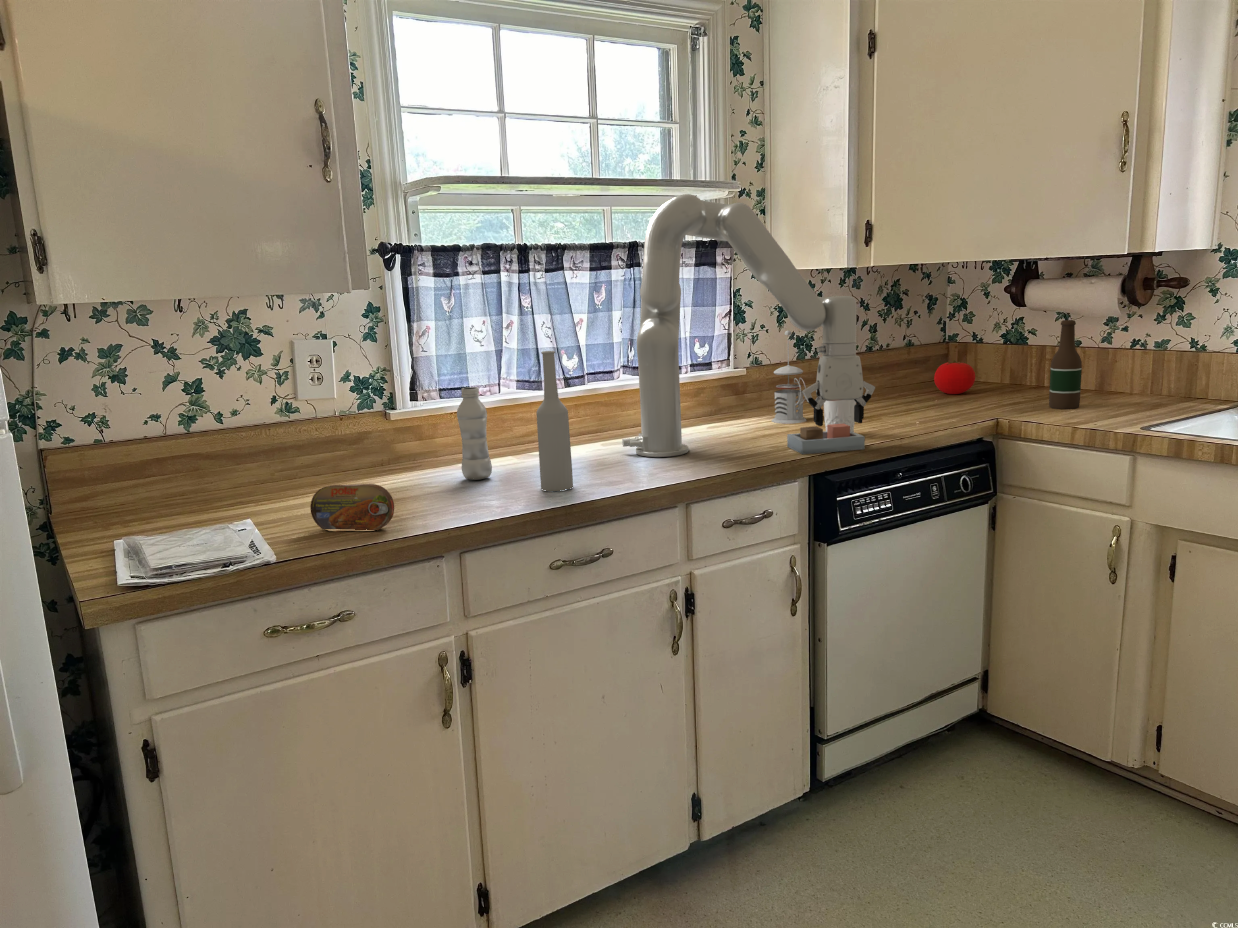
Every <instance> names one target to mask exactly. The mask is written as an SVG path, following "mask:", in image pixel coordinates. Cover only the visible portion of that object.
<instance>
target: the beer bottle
mask: <svg viewBox="0 0 1238 928" xmlns="http://www.w3.org/2000/svg"><path fill="white" fill-rule="evenodd" d="M1075 325H1077V323H1076V320H1074V319H1063V320H1061V322H1060V326H1061V331H1060V337H1059V338H1060V339H1059V345H1058V349H1057V351H1056V352H1055V354H1053V357H1052V358H1051V359H1052V360H1051V361H1050V367H1049V368H1050V369H1049V370H1050V371H1049V372H1050V373H1049V391H1048V393H1049V396H1048V405H1049V408H1051V409H1052V410H1053V409H1056V410H1075V409H1079V407H1080V402H1081V392H1082V391H1081V388H1082V387H1081V386H1082V372H1083V371H1082V369H1083V368H1082V367H1083V365H1082V362H1083V361H1082V359H1081V356H1080V354H1079V353H1078V351H1077V349H1076V338H1075V337H1076V334H1075V331H1076V330H1075V329H1076V328H1075V327H1076V326H1075Z"/></svg>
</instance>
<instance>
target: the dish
mask: <svg viewBox="0 0 1238 928" xmlns="http://www.w3.org/2000/svg"><path fill="white" fill-rule="evenodd" d="M786 436H787V440H786V441H787V442H786V444H787V447H788V448H789V449H792V450H793V451H794V452H797V453H798V454H799V453H800V454H801V455H809V454H810V455H811V454H823V453H824V454H825V453H834V452H835V453H836V452H844V451H845V452H846V451H859V450H865V443H866V442H865V440H866V439H865V437H866V436H864V435H862V434H859V433H856V432H852V431H850V437H838V438H827V431H826V430H823V439H813V440H804V439H802V438H800V433H788V434H787V435H786Z"/></svg>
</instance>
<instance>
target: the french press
mask: <svg viewBox="0 0 1238 928" xmlns="http://www.w3.org/2000/svg"><path fill="white" fill-rule="evenodd" d="M784 335H785V336H792V330H786V331H784ZM789 348H790V347H789V340H787V365H785V366H781V367H779V368H777V369H775V370H774V371H773V374H774V375H777V376H779V375H780V376H787V384H785V383H784V384H778V385H776V386H775V388H776V389H778V390H776V391H774V400H775V401H774V418H772V419H771V423H776V424H787V425H788V424H801V423H805V422H807V419H806V418H805V417H804V402H805V401H806V398H805V397H804V394H803V390H802V385H801V384H800V381H802V382H803V386H804V389H806V388H807V386H806V383H805V381H804V379H803V378H802V377H799V378H796V377H795V378H794V379H793V384H790V376H792V375H801V374H803V372H804V370H802V369H801V368H800V367H796V366H792V365H790V362H789V361H790V359H789V355H790V351H789V350H790V349H789Z"/></svg>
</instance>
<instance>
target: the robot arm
mask: <svg viewBox="0 0 1238 928" xmlns="http://www.w3.org/2000/svg"><path fill="white" fill-rule="evenodd" d="M686 236H691V237H696V238H702V239H708V240H715V241H721V242H727V243H729V245H730V246H731V248H732V249H733V250H734V251H735V253H736V254H737V255H738V258H740V260H741V261H742V262H743V263H744V264H745V266H746V268H748V270H749V271H750V273H751V274H752V276H753V277H754V278H755V279H756V280H757V281H758V282H759V283H760V284H761V285H762V286H764V287H765V289H767V290H768V291H769V293H771V295H772V296H773V297H774V298H775V300H776V301H777V302H778V303H779V305H780V306H781V308H783V310H784V311H785V313H786V315H787V318H788V320H789V322H790V323H791V324H792V325H793V326H794V327H795V328H797V329H799V330H801V331H803V332H812V331H816V330H817V329H819V328H820V327H822V343H821V345H820V346H817V347H816V352H817V353H819V354H821V355H822V356H820V357H819V359H818V364H817V369H816V370H817V371H816V381H815V383H813V384H811V385H809V386H807V387H806V389H805V388H804V389H803V390H802V391H803V397H804V398H805V401H806V402H807V403H808V404H809V405H810V407H812V408H813V422H814V424H815V425H816V426H817V427H822V426H823V425H824V408H822V407H823V406H824V403H825V401H839V400H854V401H855V402H856V405H855V406H854V421H855V423H858V424H862V423H863V419H865V418H864V416H865V414H864V413H865V406H867V403H868V402H869V401H870V400H871V398H872V395H873V393H874V392H875V390H876V386H875V385H873V384H871V383H869V382H866V381H865V380H864V377H863V368H862V362H861V361H862V360H861V357H860V356H859V355H857V300H856V298H855V297H854V296H851V295H834V296H828V297H819V296H818V295H817V294H816V292H815V291H814V290H813V288H812V287H811V286H810V284H809V283H808V281H806V279H805V278H804V277H803V275H802V274H801V273H800V271H799V270H798V269H797V268H796V267H795V265H794V263H793V262H792V261H791V259H790V258H789V256H788V255H787V253H786V252H785V251H784V249H783V248H782V247H781V246H780V245H779V243H778V241H776V239H775V238H774V237H773V235H772V234H771V233H770V231H769V229H768V228H767V227H766V226H765V225H764V223H763V221H762V220H761V219H760V218H759V216H758V215H757V214H756V212H755V211H754V210H753V209H752V207H750V206H749V205H748V204H746V203H743V202H734V203H731V204H729V203H720V202H715V201H707V200H703V199H700V198H699V197H698V196H696V195H694V194H691V193H690V194H689V193H686V194H683V193H682V194H680V195H677V196H674V197H673V198H671V199H669V200H667V201H666V202H664V203H663V204H662V205H661V206H660V207H658V209H657V210H656V211H655V212H654V214H653V215H652V217H651V218H650V220H649V223H648V225H647V228H646V231H645V237H644V238H645V239H644V249H643V260H642V276H641V285H640V291H639V294H640V299H641V300H640V301H641V302H640V323H639V324H640V325H639V331H638V333H637V337H636V353H637V354H636V356H637V365H638V367H637V368H638V384H639V385H638V386H639V387H638V388H639V403H640V404H639V406H640V426H641V430H640V431H641V432H639V433H638V436H635V437H634V438H632V437H631V438H630V437H629V438H622V440H621V443H622V447H624V448H625V447H626V448H627V447H629V448H634V447H636V449H635V452H636V453H635V454H636V455H638V456H641V457H647V458H665V457H666V458H667V457H676V456H682V455H684V454H686V453H688V452H689V451H690V450H689V446H688V445H687V444H684V443H683V442H682V441H683V438H682V437H683V436H682V433H683V432H682V413H681V412H682V411H681V410H682V409H681V405H682V404H681V387H680V386H681V385H680V384H681V383H680V382H681V381H680V363H679V362H680V360H679V358H680V357H679V352H680V351H679V346H680V345H679V339H680V337H679V336H680V320H681V319H680V317H681V316H680V315H681V300H682V297H681V296H682V288H681V287H682V286H681V284H680V271H681V270H680V268H681V257H682V256H681V254H682V245H683V241H684V239H685V237H686ZM864 389H865V393H864ZM814 392H815V394H816V398H815V399H814V398H813V396H812V393H814Z"/></svg>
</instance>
